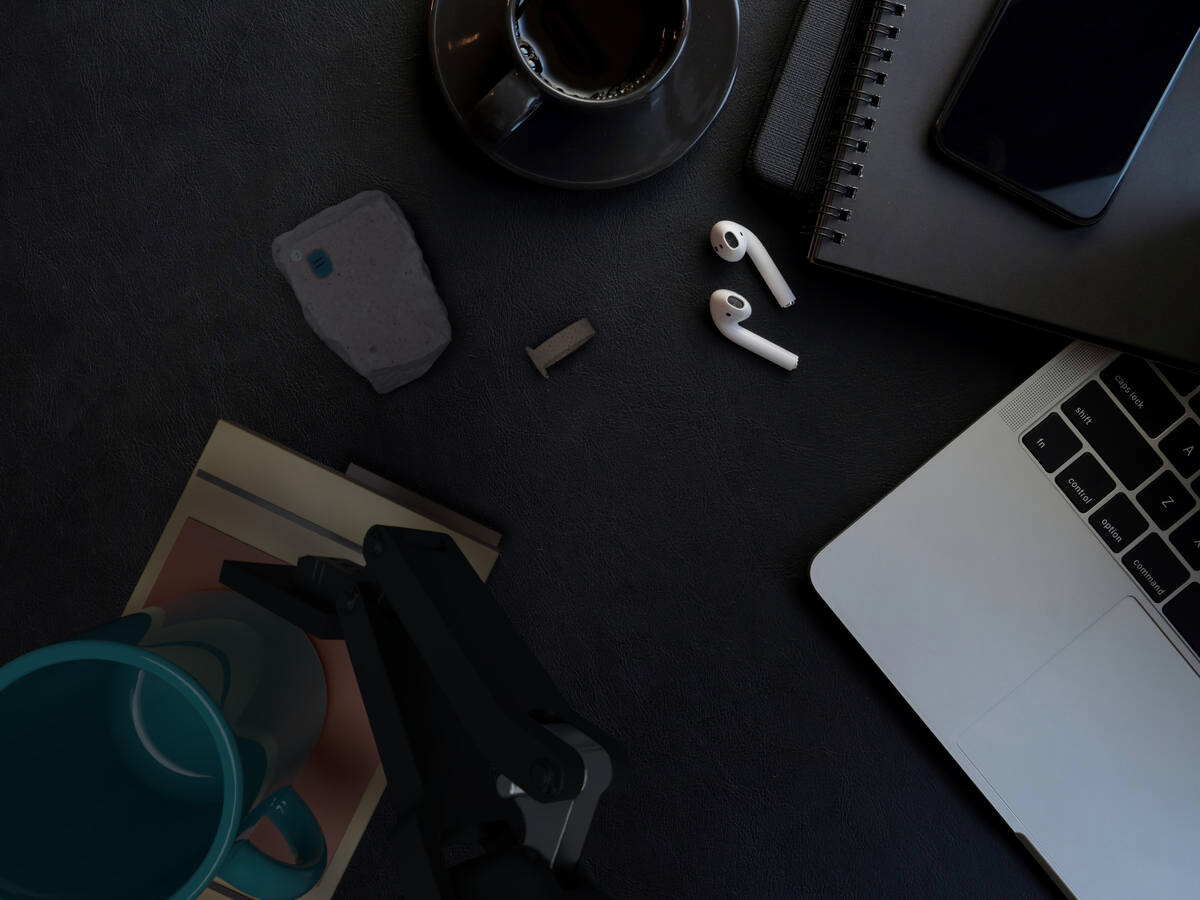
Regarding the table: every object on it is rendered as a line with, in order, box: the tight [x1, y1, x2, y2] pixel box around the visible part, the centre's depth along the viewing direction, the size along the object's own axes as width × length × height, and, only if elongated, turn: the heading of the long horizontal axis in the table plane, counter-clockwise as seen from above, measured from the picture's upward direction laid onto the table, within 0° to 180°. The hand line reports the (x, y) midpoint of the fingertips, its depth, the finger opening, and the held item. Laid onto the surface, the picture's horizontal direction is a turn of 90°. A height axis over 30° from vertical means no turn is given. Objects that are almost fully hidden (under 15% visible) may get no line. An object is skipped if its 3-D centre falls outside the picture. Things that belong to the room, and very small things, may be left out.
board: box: [120, 418, 502, 900], centre depth 40 cm, size 20×13×2 cm, turn 154°
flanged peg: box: [524, 317, 596, 379], centre depth 66 cm, size 3×5×5 cm, turn 124°
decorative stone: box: [271, 189, 452, 395], centre depth 65 cm, size 13×10×6 cm
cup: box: [0, 590, 328, 900], centre depth 33 cm, size 9×12×11 cm
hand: (210, 766), depth 32 cm, fingers open, 13 cm apart
